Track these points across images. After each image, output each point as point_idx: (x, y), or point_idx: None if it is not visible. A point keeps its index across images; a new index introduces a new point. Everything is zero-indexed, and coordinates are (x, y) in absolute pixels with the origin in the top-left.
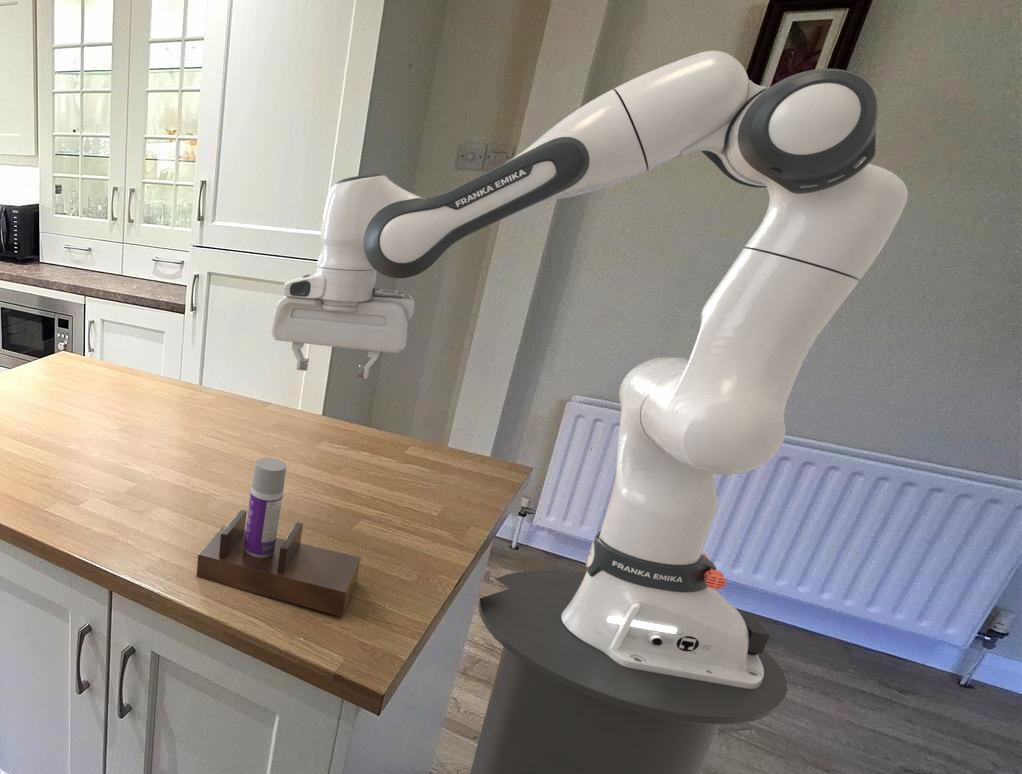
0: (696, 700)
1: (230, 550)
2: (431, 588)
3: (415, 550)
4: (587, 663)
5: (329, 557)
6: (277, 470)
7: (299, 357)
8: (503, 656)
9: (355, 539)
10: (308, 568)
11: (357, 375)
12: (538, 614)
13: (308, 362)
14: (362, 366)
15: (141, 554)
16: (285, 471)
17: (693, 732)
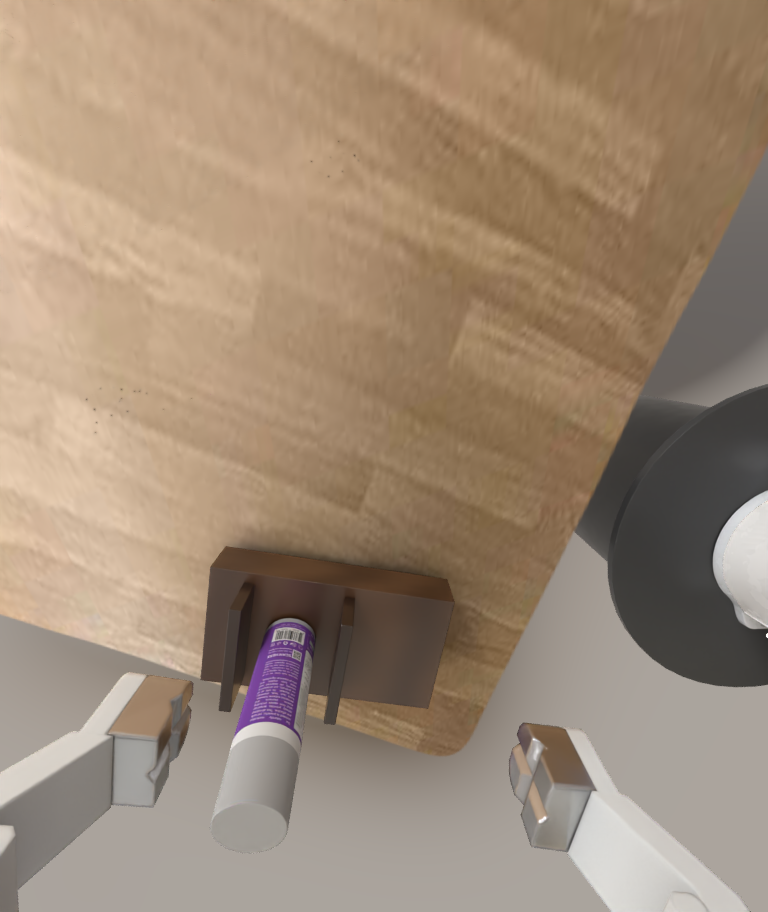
0: None
1: (246, 655)
2: (555, 540)
3: (555, 415)
4: (701, 631)
5: (404, 620)
6: (271, 848)
7: (80, 827)
8: (616, 515)
9: (453, 407)
10: (373, 664)
11: (513, 784)
12: (689, 538)
13: (172, 712)
14: (562, 824)
15: (110, 590)
16: (290, 812)
17: None
